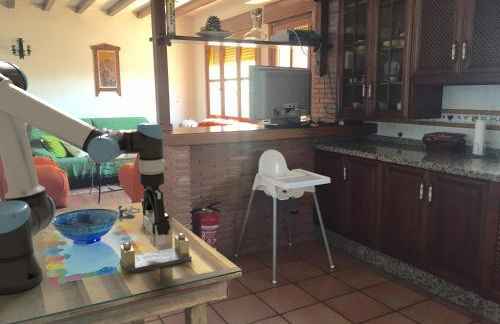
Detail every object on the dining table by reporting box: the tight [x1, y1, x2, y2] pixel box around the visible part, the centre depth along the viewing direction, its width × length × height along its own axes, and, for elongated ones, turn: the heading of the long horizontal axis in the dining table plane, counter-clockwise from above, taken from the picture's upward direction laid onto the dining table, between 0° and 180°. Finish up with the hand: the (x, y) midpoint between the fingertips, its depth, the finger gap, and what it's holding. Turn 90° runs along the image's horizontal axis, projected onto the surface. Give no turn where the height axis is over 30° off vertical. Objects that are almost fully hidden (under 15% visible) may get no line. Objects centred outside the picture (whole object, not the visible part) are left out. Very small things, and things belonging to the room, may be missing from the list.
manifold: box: [119, 232, 193, 275], centre depth 141 cm, size 21×10×8 cm, turn 118°
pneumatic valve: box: [142, 209, 171, 248], centre depth 139 cm, size 6×12×12 cm, turn 33°
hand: (155, 238), depth 140 cm, fingers closed on pneumatic valve, 11 cm apart
